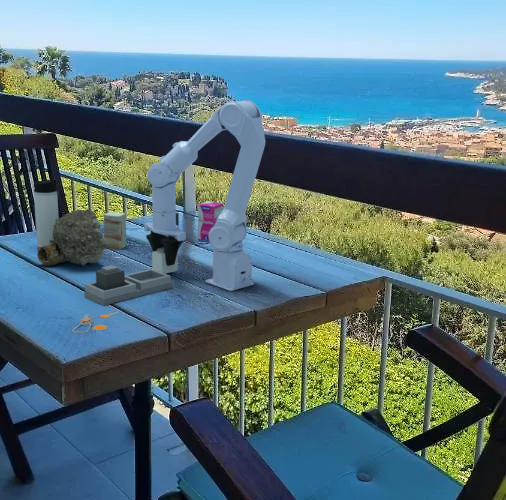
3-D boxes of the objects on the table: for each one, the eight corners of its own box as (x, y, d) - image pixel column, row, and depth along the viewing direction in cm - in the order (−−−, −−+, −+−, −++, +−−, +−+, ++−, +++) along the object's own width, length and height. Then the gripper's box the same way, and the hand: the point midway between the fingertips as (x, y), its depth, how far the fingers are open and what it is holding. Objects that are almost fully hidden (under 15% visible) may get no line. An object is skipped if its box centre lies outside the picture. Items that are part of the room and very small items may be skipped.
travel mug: (57, 251, 190) (53, 181, 185) (34, 251, 190) (29, 180, 185) (64, 246, 196) (60, 177, 191) (41, 245, 196) (37, 177, 191)
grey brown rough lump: (106, 199, 178) (49, 193, 170) (114, 247, 172) (55, 244, 163) (84, 234, 191) (30, 230, 183) (90, 279, 185) (34, 278, 177)
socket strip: (172, 287, 162) (172, 275, 161) (103, 305, 149) (103, 292, 148) (152, 280, 167) (151, 268, 166) (84, 296, 154) (83, 284, 153)
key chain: (101, 336, 133) (101, 332, 133) (66, 333, 134) (65, 329, 134) (122, 313, 145) (122, 309, 145) (89, 311, 146) (89, 307, 146)
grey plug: (177, 270, 172) (177, 248, 171) (162, 274, 169) (161, 251, 167) (168, 267, 175) (167, 245, 173) (152, 270, 172) (152, 248, 170)
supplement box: (197, 240, 206) (197, 203, 203) (207, 236, 211) (207, 200, 208) (213, 243, 203) (213, 206, 200) (223, 239, 208) (223, 202, 205)
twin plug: (125, 291, 154) (124, 267, 153) (106, 296, 151) (105, 271, 149) (115, 287, 157) (114, 263, 156) (96, 291, 154) (95, 267, 152)
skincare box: (103, 248, 195) (102, 214, 192) (111, 244, 199) (110, 211, 196) (119, 250, 193) (118, 215, 191) (127, 246, 197) (126, 213, 195)
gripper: (195, 213, 166) (195, 266, 169) (159, 204, 175) (160, 254, 179) (172, 216, 161) (173, 271, 164) (137, 207, 171) (138, 259, 174)
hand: (165, 263), depth 171 cm, fingers closed on grey plug, 4 cm apart
